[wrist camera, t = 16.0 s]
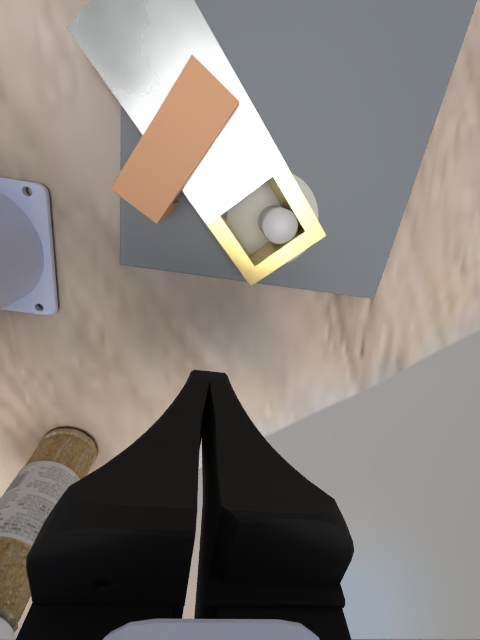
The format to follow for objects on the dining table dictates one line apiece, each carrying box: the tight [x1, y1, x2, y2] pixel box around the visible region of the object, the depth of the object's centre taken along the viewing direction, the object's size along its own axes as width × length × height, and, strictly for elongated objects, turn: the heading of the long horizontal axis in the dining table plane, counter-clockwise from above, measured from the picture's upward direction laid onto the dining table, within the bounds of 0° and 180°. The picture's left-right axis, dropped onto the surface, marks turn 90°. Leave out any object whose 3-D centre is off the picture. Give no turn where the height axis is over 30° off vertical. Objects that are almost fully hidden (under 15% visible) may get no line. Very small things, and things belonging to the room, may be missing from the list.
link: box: [66, 0, 326, 286], centre depth 16 cm, size 13×5×3 cm, turn 35°
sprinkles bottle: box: [0, 428, 97, 640], centre depth 19 cm, size 5×5×13 cm
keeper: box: [111, 55, 240, 224], centre depth 15 cm, size 6×2×5 cm, turn 141°
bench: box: [120, 0, 477, 299], centre depth 16 cm, size 17×17×3 cm
